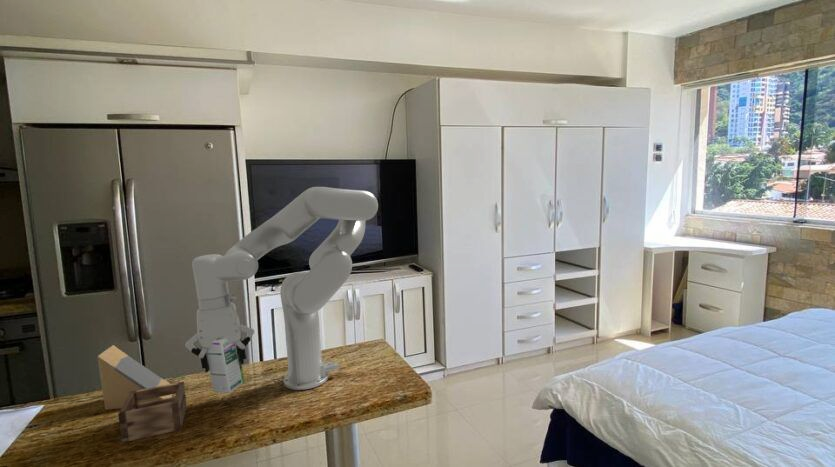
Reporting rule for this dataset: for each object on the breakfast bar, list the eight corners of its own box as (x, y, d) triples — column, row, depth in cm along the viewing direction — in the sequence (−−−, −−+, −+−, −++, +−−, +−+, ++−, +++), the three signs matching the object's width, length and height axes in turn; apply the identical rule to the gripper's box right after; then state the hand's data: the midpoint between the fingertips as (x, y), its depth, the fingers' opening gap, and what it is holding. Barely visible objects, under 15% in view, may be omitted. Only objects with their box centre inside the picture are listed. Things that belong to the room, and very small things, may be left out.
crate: (186, 406, 116) (183, 381, 115) (181, 429, 105) (178, 402, 104) (133, 416, 112) (130, 391, 111) (122, 442, 101) (118, 414, 100)
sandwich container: (167, 402, 119) (161, 349, 117) (104, 410, 116) (96, 356, 114) (178, 388, 127) (172, 338, 125) (119, 395, 124) (112, 344, 122)
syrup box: (230, 393, 114) (221, 340, 112) (211, 391, 116) (203, 339, 114) (245, 383, 119) (237, 332, 117) (227, 381, 121) (219, 331, 119)
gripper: (250, 292, 121) (259, 353, 123) (179, 305, 115) (190, 368, 117) (250, 299, 114) (260, 363, 116) (175, 313, 108) (187, 380, 110)
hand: (225, 365), depth 117 cm, fingers closed on syrup box, 8 cm apart
